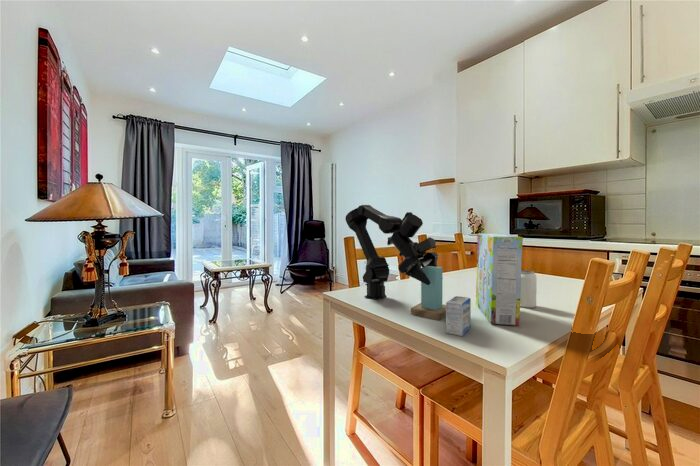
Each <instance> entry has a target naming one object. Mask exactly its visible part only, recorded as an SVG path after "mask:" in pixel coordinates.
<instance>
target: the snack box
mask: <svg viewBox="0 0 700 466" xmlns="http://www.w3.org/2000/svg"><path fill="white" fill-rule="evenodd" d="M523 239H524V237H523V236H517V235H516V236H515V235H512V234H502V233H501V234H499V233H477V242H476V243H477V248H476V286H475V287H476V288H475V289H476V292H475V293H476V295H475V305H476V306H477V307H478V309H479V310H480V311H481V313H482V314H483V315H484V317H486V318H487V320H488V322H490V324H492V325H503V326H518V327H519V326H520V319H521V317H520V316H521V307H520V295H521V270H522V258H523V257H522V256H523V241H524V240H523Z"/></svg>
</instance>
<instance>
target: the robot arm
mask: <svg viewBox="0 0 700 466" xmlns="http://www.w3.org/2000/svg"><path fill="white" fill-rule="evenodd" d="M368 220H370V221H371V222H373V223H375V224H377V225H378V229H379V230H380V231H381V232H382V233H383V234H385V235H387V234H391V236H389V237H387V243H386V244H387V246H391V245H393V246H394V247H395V248H396V249H397V250H398V252H399V253H398V255H399V257H403V258H404V259H403V260H402V261H401V262H400V263H398V266H397V269H398V271H399V272H400V274H402V275H405V276H408V277H411V278H413V279H415V280H417V281H419V282H420V283H421V282H423V283H425V284H427V285H429V284H430V281H429V279H428V278H427V276H426V275H425V273H424V272H423V270H422V269H421V268H423V267H426V266H433V267H439V266H438V260H439V258H438V257H439V255H438V253H437V252H436V251H429V250H432V249H436V248H437V246H436V243H437V241H436V240H435V239H434V238H432V237H430V236H429V237H427V238H424V240H421V241H420V242H417V241H413V240H412V239H411V238H413V237H414V236H415V235H416V234H417V233H418V232H419V230H420V229H421V228H422V226H423V224H424V223H423V220H422V219H421V218H420V217H419V216H417V215H416V214H414V213H412V212H409V211H406V213H405V215H404V217H402V218H401V217H397V216H393V215H388V214H385V213H383V212H381V211H380V210H378V209H377V208H374V207H373V206H372V205H370V204H361V205H358V207H356V208H354V209H352V210H350V211H349V212H348V213H347V214H346V215H345V223H346V224H347V225H348V226H347V227H348V228H349V229H351V230H352V232H354V233H355V236H356V239H357V240H358V243H359V245H360V247H361V250H362V252H363V255H364V257H365V259H366V263H365V270H366V271H365V272H364V274H363V275H362V281H363V283H366V295H364V298H366V299H373V300H376V301H377V300H381V299H382V298H383V299H384V298H386V297H387V294H386V286H385V282H388V279H389V275H390V267H389V266H390V265H389V264H388V262H387V259H386V258H385V256H381V257H380V256H379V255H378V252H377V250H376V248H375V246H374V243H373V241H372V239H371V236H370V234H369V231H368V230H367V225H368V224H367V222H368ZM443 277H444V276H442V280H443Z"/></svg>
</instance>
